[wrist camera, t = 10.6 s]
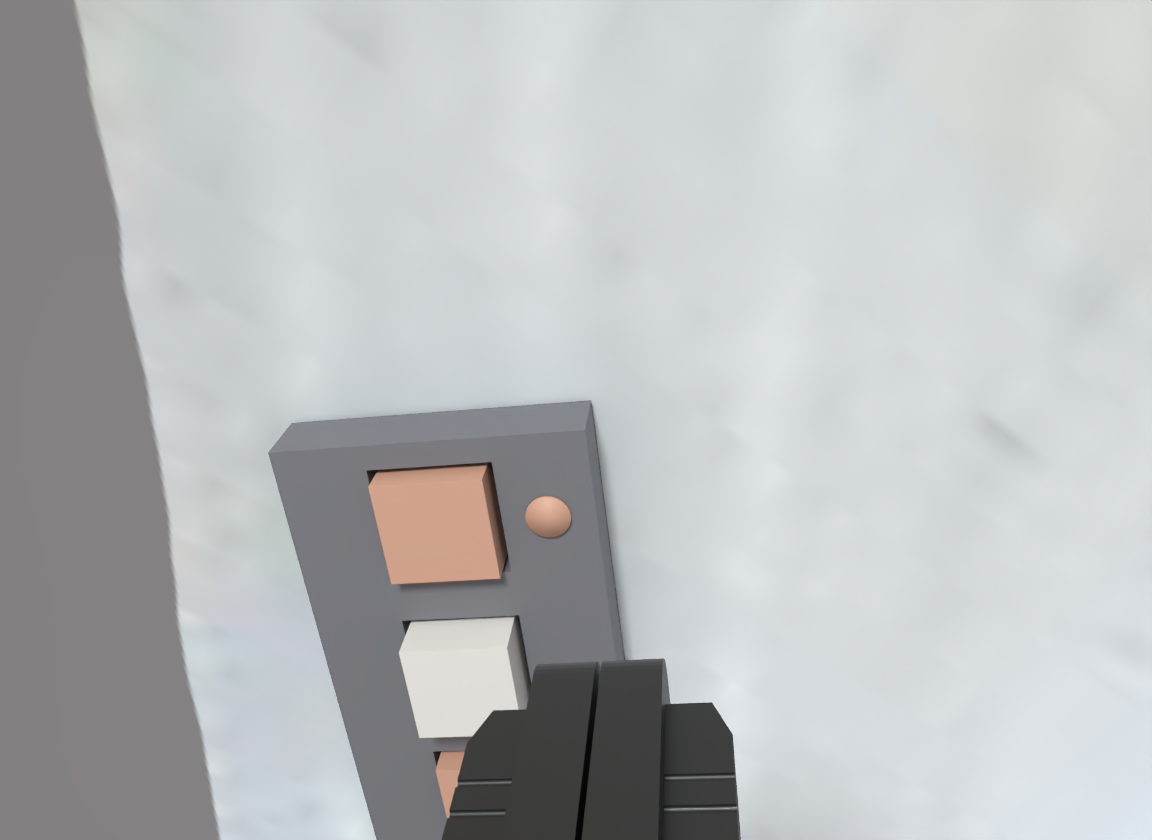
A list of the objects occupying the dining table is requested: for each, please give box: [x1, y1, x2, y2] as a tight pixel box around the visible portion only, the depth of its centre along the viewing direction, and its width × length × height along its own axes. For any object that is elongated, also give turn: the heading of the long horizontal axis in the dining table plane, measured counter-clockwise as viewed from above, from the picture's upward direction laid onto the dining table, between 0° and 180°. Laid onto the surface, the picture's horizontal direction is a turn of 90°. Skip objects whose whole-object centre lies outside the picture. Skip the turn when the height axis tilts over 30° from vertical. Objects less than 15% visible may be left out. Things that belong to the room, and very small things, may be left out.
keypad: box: [269, 401, 624, 840], centre depth 50 cm, size 14×24×3 cm, turn 7°
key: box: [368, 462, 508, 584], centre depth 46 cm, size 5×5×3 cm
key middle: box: [399, 615, 531, 738], centre depth 48 cm, size 5×5×3 cm
